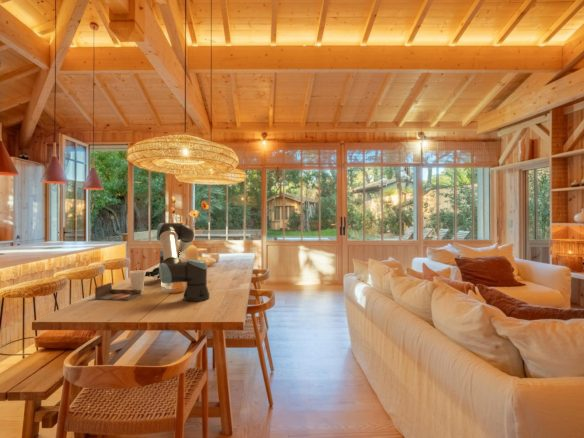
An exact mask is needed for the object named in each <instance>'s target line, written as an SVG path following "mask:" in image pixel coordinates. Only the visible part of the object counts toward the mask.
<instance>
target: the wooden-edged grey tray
mask: <svg viewBox="0 0 584 438" xmlns="http://www.w3.org/2000/svg"><path fill="white" fill-rule="evenodd" d="M112 284H113V283H112V282H109V283H105V284H102V285H99V286H97V287H94V290H95V291H94V293H95V294H94V300H97V301H125V302H126V301H131V300H133V299H135V298H137V297H139V296H141V295H142V292H141V290H132V289H117V288H112V287H113V285H112Z"/></svg>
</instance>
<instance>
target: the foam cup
mask: <svg viewBox="0 0 584 438" xmlns="http://www.w3.org/2000/svg"><path fill="white" fill-rule="evenodd" d="M146 272H147V271H146V270H141V269H138V270H137V269H136V270H131V271H129V279H130V287H131V290H141V293H142V292H143V291H144V288H145V287H144V285H145V279H146V277H145V275H146Z"/></svg>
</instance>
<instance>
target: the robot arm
mask: <svg viewBox="0 0 584 438" xmlns="http://www.w3.org/2000/svg"><path fill="white" fill-rule="evenodd" d="M194 237H195V233H194V230H193V228H192V227H191V226H190V225H188V224H186V223H184V222H161V223H158V225H157V230H156V239H157V241H160V243H161V244H162V249H161V250H160V251H159V265H158V267H155V268H153V269H152V270H151V271H146V275H145V278H146V277H149V278H150V277H153V278H154V279H153V280H154V281H156V280H160V282H161V283H162V284H174V283H175V284H176V283H177V284H178V283H186V287H185V290H184V293H183V296H182V297H183V301H187V302H203V301H207V300H209V299H210V293H209V289H208V286H207V284H208V283H207V281H208V280H207V276H208V274H207V272H208V271H207V270H208V267H207V266H208V265H207V262H206V261H205V260H202V259H191V258H190V259H188V260H187V261H181V260H180V259H179V255H180V254H179V253H180V252H182V251H184V250H185V249H187V248H188V247H189V246H190V247H191V243H192V241H193V240H194ZM178 241H179V245H178V247H177V242H178ZM190 247H189V248H190ZM179 251H180V252H179Z"/></svg>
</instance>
